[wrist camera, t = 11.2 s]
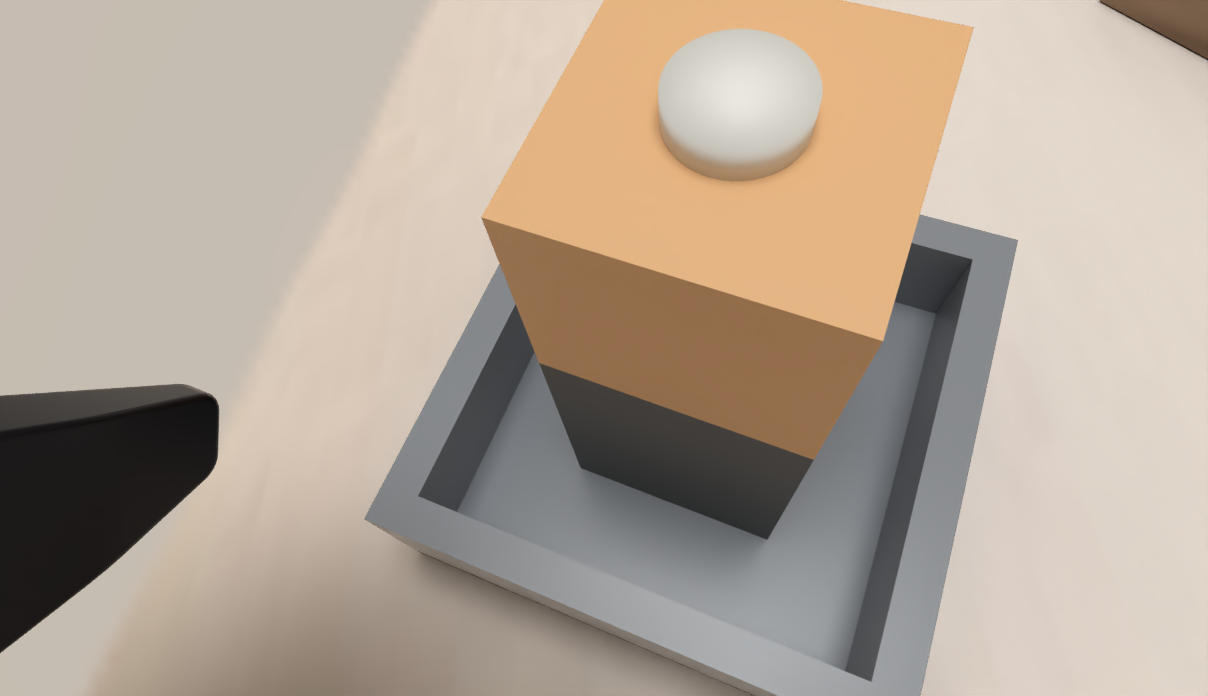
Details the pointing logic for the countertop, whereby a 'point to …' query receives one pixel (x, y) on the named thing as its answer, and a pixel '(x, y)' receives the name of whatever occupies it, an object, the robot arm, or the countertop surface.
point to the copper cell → (721, 233)
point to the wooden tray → (1171, 19)
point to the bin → (709, 547)
